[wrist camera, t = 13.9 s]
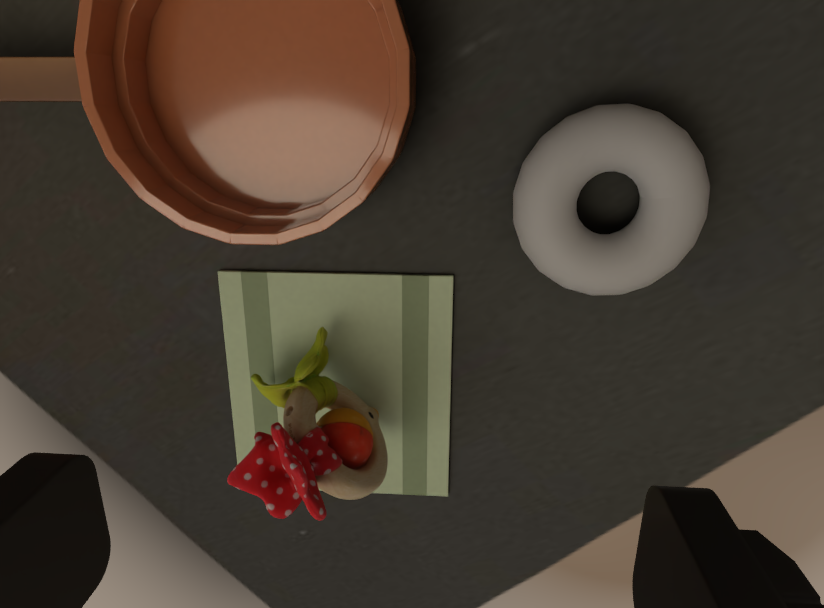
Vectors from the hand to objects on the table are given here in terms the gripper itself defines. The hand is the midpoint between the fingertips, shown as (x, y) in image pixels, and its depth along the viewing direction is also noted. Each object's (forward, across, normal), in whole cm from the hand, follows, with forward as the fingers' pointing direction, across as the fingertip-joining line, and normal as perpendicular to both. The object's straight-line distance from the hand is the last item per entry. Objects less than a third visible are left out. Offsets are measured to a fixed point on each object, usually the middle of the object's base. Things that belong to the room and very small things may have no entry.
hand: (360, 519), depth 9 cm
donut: (+27, -9, 0) cm, 28 cm away
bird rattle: (+26, +6, +12) cm, 29 cm away
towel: (+26, +6, +12) cm, 29 cm away
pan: (+26, +9, -6) cm, 29 cm away
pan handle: (+23, +22, -6) cm, 33 cm away
